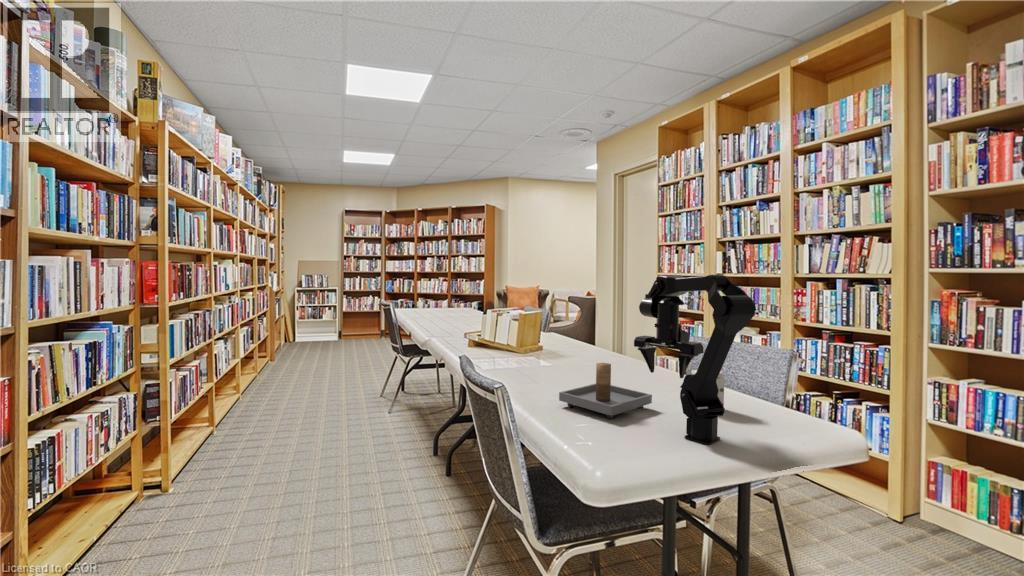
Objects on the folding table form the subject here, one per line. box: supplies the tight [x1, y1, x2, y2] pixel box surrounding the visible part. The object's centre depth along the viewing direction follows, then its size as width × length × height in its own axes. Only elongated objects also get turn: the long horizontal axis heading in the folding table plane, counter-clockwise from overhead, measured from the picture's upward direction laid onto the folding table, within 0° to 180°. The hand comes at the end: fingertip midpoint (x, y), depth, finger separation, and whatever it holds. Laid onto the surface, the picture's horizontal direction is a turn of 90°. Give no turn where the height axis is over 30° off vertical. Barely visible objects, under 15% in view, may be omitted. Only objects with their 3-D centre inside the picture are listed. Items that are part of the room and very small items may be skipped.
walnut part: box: [595, 362, 612, 402], centre depth 148 cm, size 4×4×11 cm
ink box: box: [691, 369, 725, 409], centre depth 148 cm, size 9×5×12 cm, turn 84°
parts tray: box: [558, 383, 653, 420], centre depth 149 cm, size 20×20×4 cm
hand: (666, 375), depth 136 cm, fingers open, 9 cm apart
